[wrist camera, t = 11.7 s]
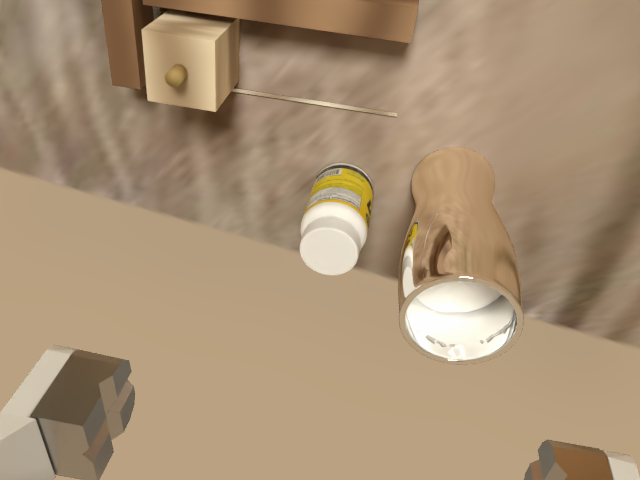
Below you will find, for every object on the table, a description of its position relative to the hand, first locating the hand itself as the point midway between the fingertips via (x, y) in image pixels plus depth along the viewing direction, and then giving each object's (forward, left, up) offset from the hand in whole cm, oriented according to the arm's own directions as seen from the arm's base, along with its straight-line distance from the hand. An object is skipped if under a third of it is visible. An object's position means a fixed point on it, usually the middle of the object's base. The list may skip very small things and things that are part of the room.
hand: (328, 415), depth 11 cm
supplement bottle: (+2, +14, -31) cm, 34 cm away
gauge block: (+13, +4, -31) cm, 34 cm away
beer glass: (-6, +12, -31) cm, 34 cm away
